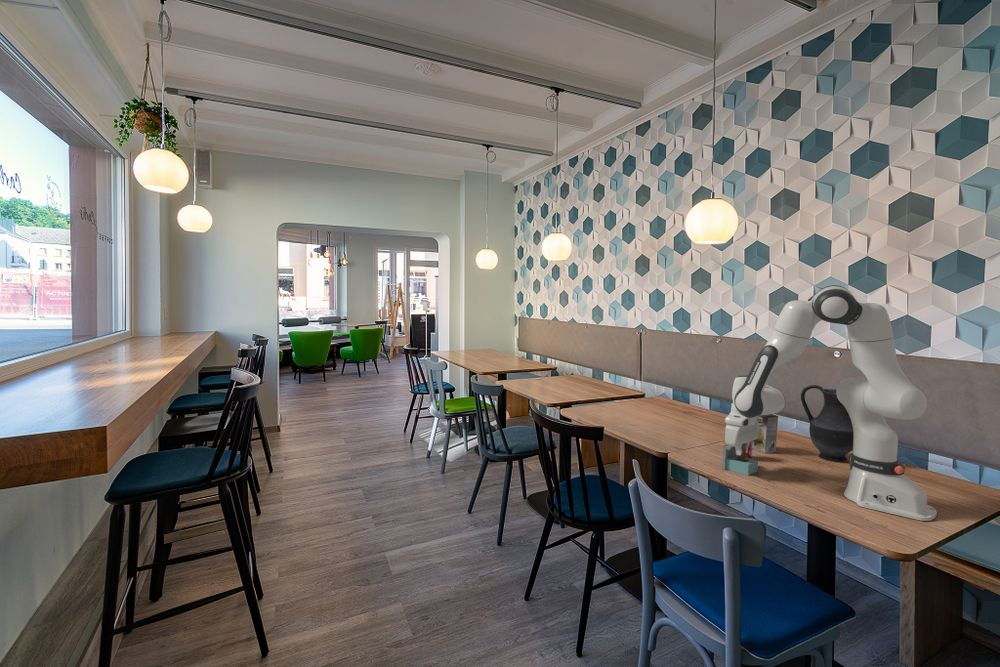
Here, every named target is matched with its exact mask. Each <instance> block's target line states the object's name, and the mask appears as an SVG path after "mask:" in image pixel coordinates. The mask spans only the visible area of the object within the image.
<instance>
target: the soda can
mask: <svg viewBox="0 0 1000 667" xmlns="http://www.w3.org/2000/svg"><path fill="white" fill-rule="evenodd" d="M752 445H753V440H752V441H750V444H749V447H748V452H747V453H745V458H749V459H752V455H753V448H752Z"/></svg>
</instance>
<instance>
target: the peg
mask: <svg viewBox="0 0 1000 667" xmlns="http://www.w3.org/2000/svg"><path fill="white" fill-rule="evenodd" d="M741 449H742V450H743V452H742V455H740V456H739V455H737V460H738V461H743V462H744V461H745V453H746V443H744V444H742V447H741Z"/></svg>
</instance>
